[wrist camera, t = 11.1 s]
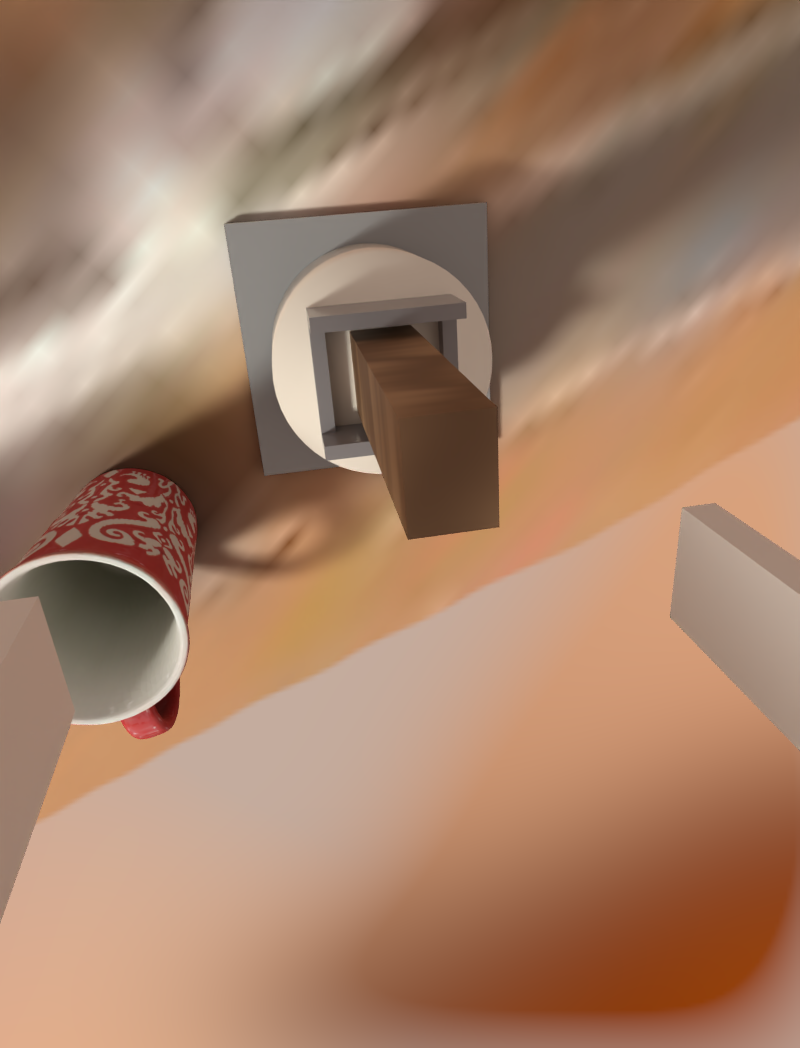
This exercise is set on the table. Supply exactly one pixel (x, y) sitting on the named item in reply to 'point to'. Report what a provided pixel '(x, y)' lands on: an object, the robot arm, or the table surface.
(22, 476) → the table surface
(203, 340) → the table surface
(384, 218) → the square plate with disc
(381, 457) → the wood plank
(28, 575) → the mug
